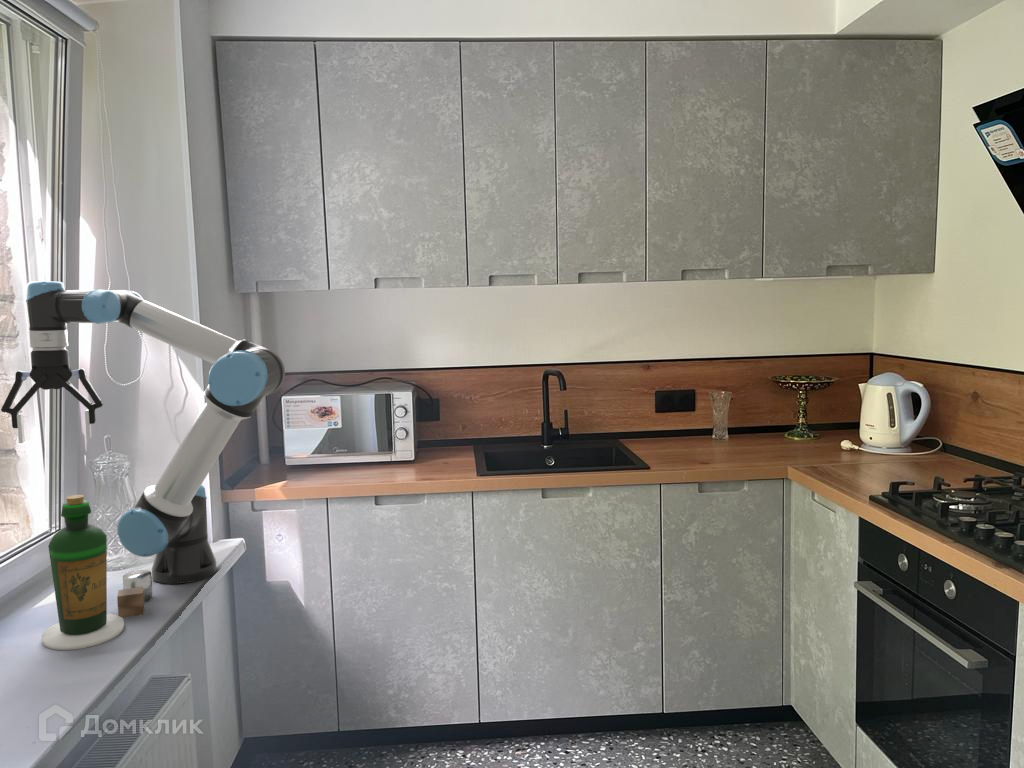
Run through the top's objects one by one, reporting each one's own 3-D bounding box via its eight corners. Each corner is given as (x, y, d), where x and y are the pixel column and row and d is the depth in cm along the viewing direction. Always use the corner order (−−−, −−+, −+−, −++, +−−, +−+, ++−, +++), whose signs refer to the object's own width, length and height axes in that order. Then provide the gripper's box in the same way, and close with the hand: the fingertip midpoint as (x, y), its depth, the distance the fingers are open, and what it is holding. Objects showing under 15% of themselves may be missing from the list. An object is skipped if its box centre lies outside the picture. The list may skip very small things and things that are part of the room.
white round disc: (126, 614, 171) (126, 609, 171) (121, 642, 157) (121, 636, 157) (48, 625, 165) (47, 620, 165) (36, 655, 152) (35, 649, 151)
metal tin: (153, 593, 184) (151, 568, 183) (152, 602, 178) (150, 577, 177) (124, 596, 181) (123, 572, 181) (123, 606, 176) (121, 580, 175)
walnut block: (144, 608, 175) (143, 586, 174) (143, 614, 171) (142, 593, 171) (119, 611, 173) (118, 590, 172) (118, 618, 169) (117, 596, 169)
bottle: (81, 642, 155) (71, 505, 151) (42, 634, 158) (32, 500, 155) (124, 621, 165) (116, 492, 161) (86, 614, 168) (78, 488, 165)
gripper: (-19, 351, 170) (-11, 446, 172) (109, 348, 179) (114, 438, 182) (-11, 349, 176) (-4, 441, 179) (111, 346, 186) (117, 433, 189)
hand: (55, 440), depth 180 cm, fingers open, 13 cm apart
